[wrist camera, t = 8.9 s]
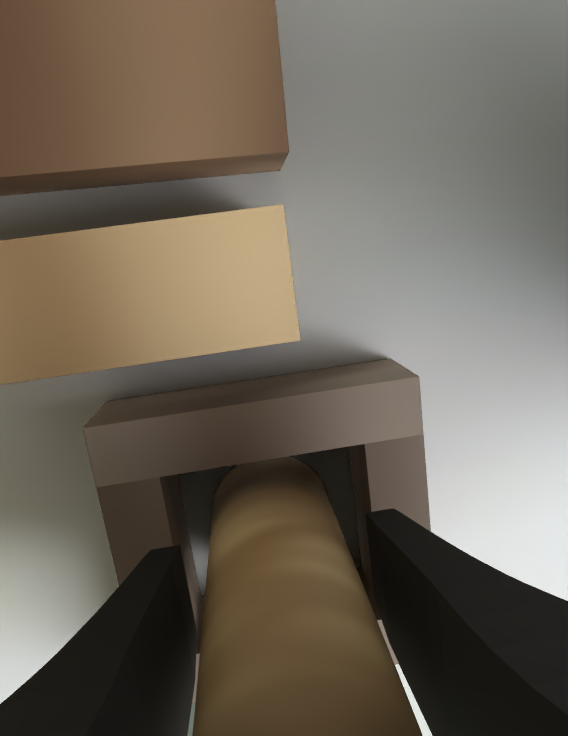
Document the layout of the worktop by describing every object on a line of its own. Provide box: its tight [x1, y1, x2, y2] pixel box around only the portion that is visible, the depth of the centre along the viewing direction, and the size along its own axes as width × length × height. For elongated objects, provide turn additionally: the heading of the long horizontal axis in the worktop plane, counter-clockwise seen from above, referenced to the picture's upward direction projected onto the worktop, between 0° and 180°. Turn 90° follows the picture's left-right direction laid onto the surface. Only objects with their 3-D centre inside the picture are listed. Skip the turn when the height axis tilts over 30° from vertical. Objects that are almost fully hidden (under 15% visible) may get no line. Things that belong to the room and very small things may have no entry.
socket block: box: [83, 359, 431, 703], centre depth 12 cm, size 7×7×2 cm
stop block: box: [0, 204, 301, 385], centre depth 10 cm, size 8×2×3 cm, turn 98°
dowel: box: [192, 456, 422, 736], centre depth 10 cm, size 3×3×7 cm
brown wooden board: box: [0, 0, 289, 196], centre depth 10 cm, size 9×6×2 cm, turn 96°
